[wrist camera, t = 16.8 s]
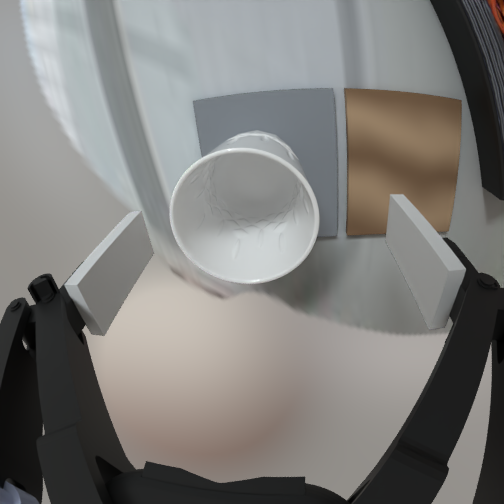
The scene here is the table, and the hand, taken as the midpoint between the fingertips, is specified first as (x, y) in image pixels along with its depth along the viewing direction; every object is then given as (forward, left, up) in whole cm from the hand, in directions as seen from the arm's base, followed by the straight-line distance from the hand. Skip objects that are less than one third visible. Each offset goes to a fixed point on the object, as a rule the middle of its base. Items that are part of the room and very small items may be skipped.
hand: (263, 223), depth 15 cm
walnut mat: (0, +12, -11) cm, 16 cm away
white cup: (0, -1, -10) cm, 10 cm away
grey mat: (0, 0, -11) cm, 11 cm away
